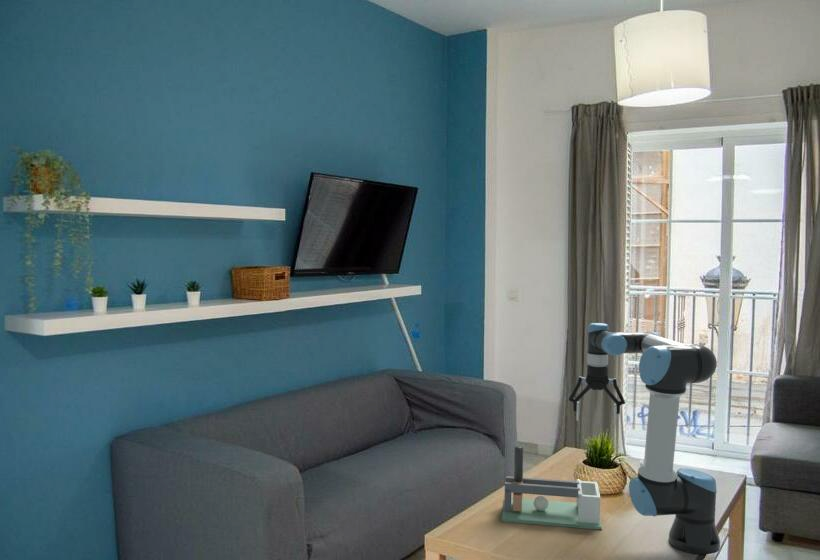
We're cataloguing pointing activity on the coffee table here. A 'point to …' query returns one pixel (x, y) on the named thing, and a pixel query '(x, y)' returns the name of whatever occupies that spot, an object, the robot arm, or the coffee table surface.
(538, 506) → the ball
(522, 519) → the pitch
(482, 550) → the coffee table surface
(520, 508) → the post
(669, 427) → the robot arm
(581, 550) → the coffee table surface
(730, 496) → the coffee table surface
